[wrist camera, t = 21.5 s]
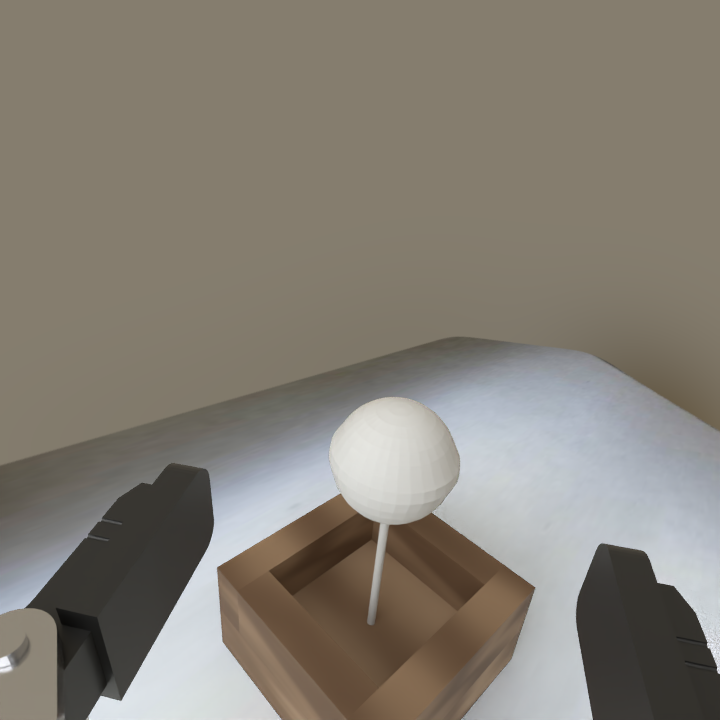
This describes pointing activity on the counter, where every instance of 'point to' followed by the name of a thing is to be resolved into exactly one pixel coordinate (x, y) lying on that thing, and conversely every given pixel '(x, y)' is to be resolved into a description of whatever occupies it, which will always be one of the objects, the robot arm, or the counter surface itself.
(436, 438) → the lollipop
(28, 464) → the counter surface
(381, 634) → the base
